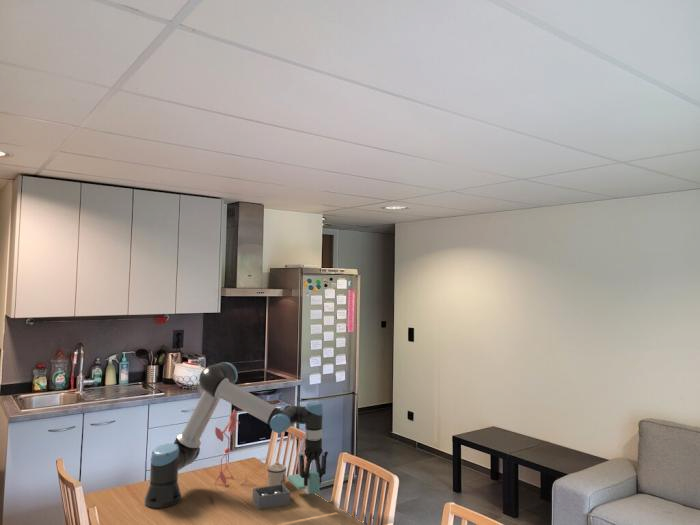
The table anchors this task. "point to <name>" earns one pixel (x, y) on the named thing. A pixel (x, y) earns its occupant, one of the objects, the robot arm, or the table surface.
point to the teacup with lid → (276, 474)
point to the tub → (271, 496)
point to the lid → (299, 481)
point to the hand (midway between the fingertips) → (312, 491)
